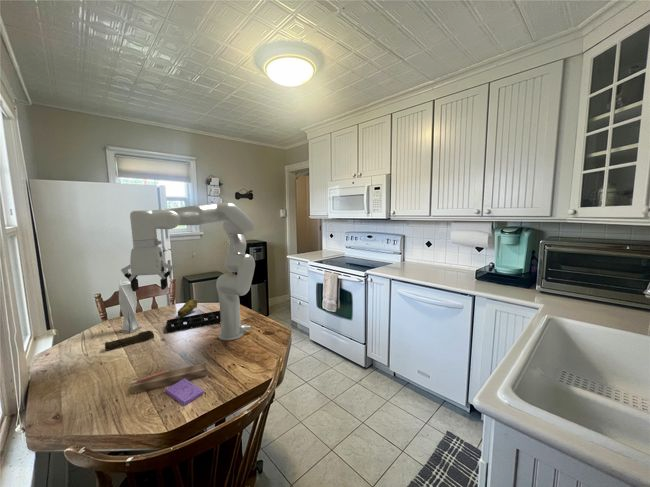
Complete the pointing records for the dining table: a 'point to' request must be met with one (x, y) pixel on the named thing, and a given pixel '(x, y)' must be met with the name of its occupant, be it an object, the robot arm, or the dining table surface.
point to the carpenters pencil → (149, 377)
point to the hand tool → (129, 340)
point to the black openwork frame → (192, 321)
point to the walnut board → (169, 378)
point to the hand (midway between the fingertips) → (149, 289)
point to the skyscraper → (128, 307)
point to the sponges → (184, 391)
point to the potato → (187, 307)
